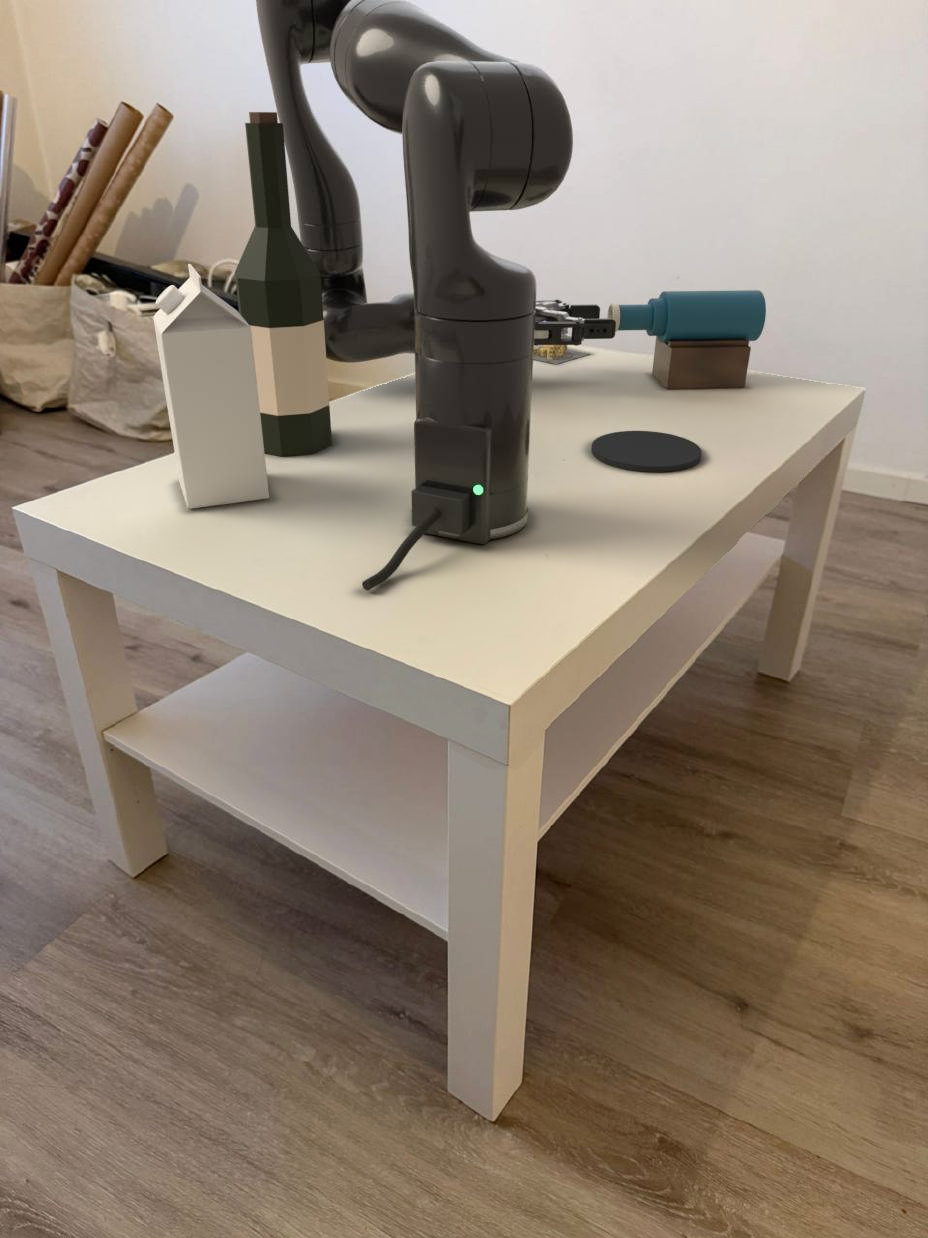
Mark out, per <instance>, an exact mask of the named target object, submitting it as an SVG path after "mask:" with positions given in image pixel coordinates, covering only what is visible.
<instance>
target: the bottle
mask: <svg viewBox="0 0 928 1238" xmlns="http://www.w3.org/2000/svg"><path fill="white" fill-rule="evenodd" d="M765 298H766V297H765V296H764V294H763V292H762V291H761V290H757V289H753V290H752V289H750V290H748V289H747V290H666V291H665V290H664V291H662V292H661V293H660V294H659V296H658V297H656V298H653V297H652V298H650V299H649V300H648V301H647V304H619V303H610V304H609V306H608V309H607V316H606V317H607V318H606V319H608V318H611V319H614V320H615V321H616V330H615V333H616V332H618V331H645V332H646V334H647V336H649V337H656V336H657V339H658V341H659V342H661V343H662V342H668V341H669V340H729V339H747V340H749V342H755V341H757V340H758V339H759V338H760V337H761V336H762V333H763V330H764V328H765V324H766V317H767V316H766V315H767V306H766V305H767V304H766V299H765Z"/></svg>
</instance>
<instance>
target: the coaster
mask: <svg viewBox="0 0 928 1238" xmlns="http://www.w3.org/2000/svg"><path fill="white" fill-rule="evenodd" d="M590 451H591V454H592V456H593V457H595V458H596V459H597V460H598V461H600V462H602V463H604V464H606V465H609V466H612V467H615V468H618V469H623V470H629V471H634V472H642V473H643V472H644V473H666V472H667V473H669V472H677V471H683V470H686V469H690V468H692V467H694V466H696V465H697V464H699V463H700V461H701V459H702V456H703V455H702V454H703V451H702V448H701V447H700V446H699V445H698V444H696V443H695V442H693V441H691V440H690V439H687V438H686V437H683V436H679V435H675V434H671V433H666V432H662V431H661V432H659V431H650V430H623V431H622V430H621V431H614V432H610V433H606V434H603V435H600V436H598V437H597V438H595V439H594V440H593V441H592V443H591V450H590Z"/></svg>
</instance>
